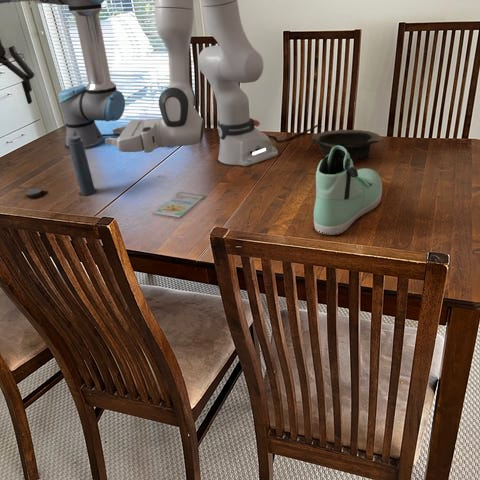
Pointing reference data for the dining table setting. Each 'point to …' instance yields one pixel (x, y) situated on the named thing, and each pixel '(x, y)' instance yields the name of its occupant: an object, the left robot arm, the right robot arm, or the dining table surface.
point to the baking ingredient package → (179, 204)
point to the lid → (34, 193)
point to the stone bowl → (347, 142)
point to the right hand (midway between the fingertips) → (109, 136)
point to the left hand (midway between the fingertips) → (7, 105)
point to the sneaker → (343, 192)
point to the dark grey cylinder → (81, 165)
